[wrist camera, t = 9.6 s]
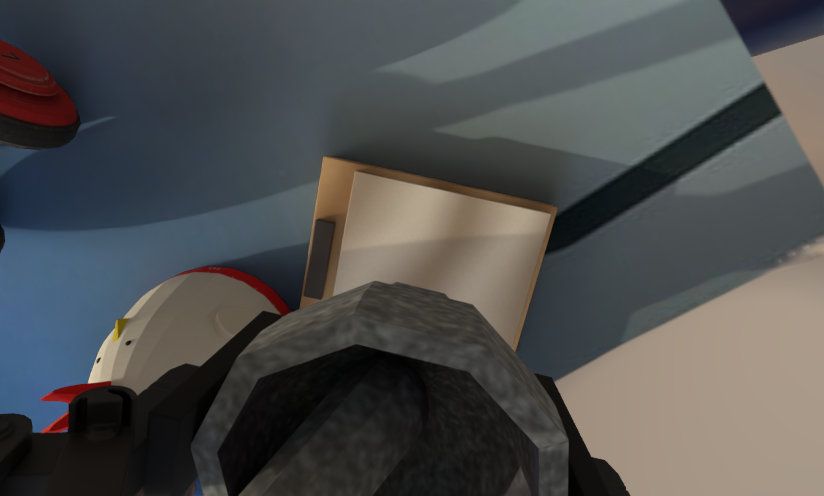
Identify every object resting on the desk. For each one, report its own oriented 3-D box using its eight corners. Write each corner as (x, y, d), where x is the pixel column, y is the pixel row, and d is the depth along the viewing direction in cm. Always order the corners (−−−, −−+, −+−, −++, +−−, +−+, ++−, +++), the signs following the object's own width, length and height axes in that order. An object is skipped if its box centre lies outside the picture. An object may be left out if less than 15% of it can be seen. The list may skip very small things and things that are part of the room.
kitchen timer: (241, 236, 33) (89, 300, 19) (333, 374, 36) (260, 527, 21) (112, 315, 36) (-114, 426, 21) (206, 440, 38) (60, 619, 23)
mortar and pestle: (477, 203, 15) (566, 435, 4) (557, 410, 17) (775, 970, 6) (219, 306, 17) (-234, 659, 6) (319, 480, 19) (132, 995, 8)
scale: (551, 204, 31) (560, 208, 29) (499, 379, 35) (504, 397, 32) (330, 155, 32) (321, 156, 29) (301, 335, 35) (290, 349, 32)
